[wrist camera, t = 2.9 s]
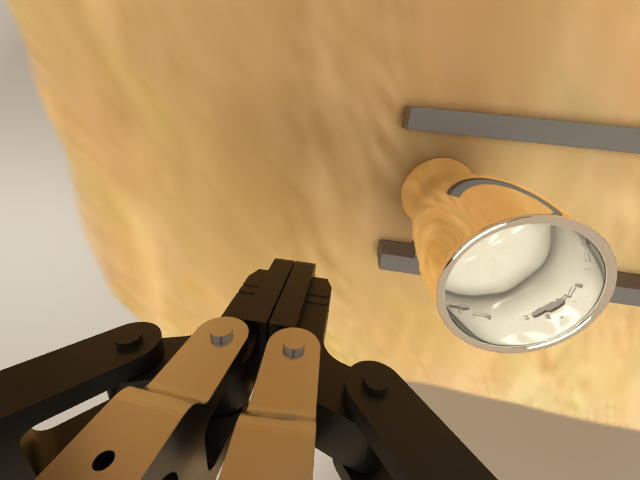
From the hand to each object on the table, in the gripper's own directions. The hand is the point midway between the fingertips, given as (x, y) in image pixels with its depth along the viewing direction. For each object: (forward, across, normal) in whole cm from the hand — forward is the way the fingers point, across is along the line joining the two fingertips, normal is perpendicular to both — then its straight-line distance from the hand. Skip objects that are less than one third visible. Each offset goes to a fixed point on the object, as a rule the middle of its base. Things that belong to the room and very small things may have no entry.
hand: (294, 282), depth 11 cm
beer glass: (+17, -9, 0) cm, 19 cm away
